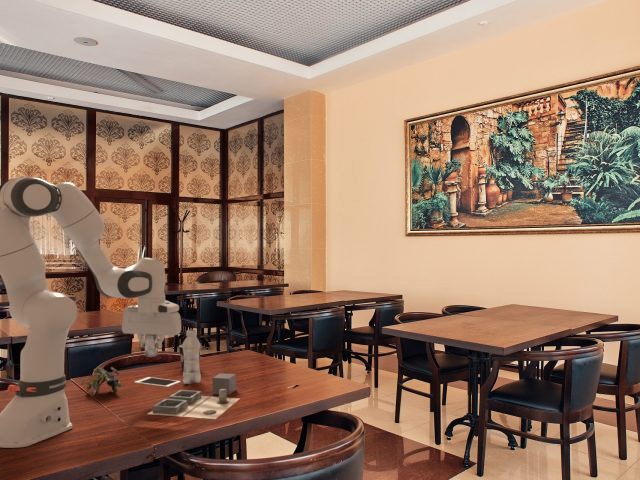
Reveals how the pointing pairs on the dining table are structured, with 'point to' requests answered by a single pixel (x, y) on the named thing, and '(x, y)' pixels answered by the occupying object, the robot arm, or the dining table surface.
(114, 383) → the olive green irregular piece
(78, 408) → the dining table surface
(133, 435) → the dining table surface
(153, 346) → the steel peg
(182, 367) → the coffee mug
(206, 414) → the board
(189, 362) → the plastic bottle
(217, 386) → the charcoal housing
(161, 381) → the cell phone
